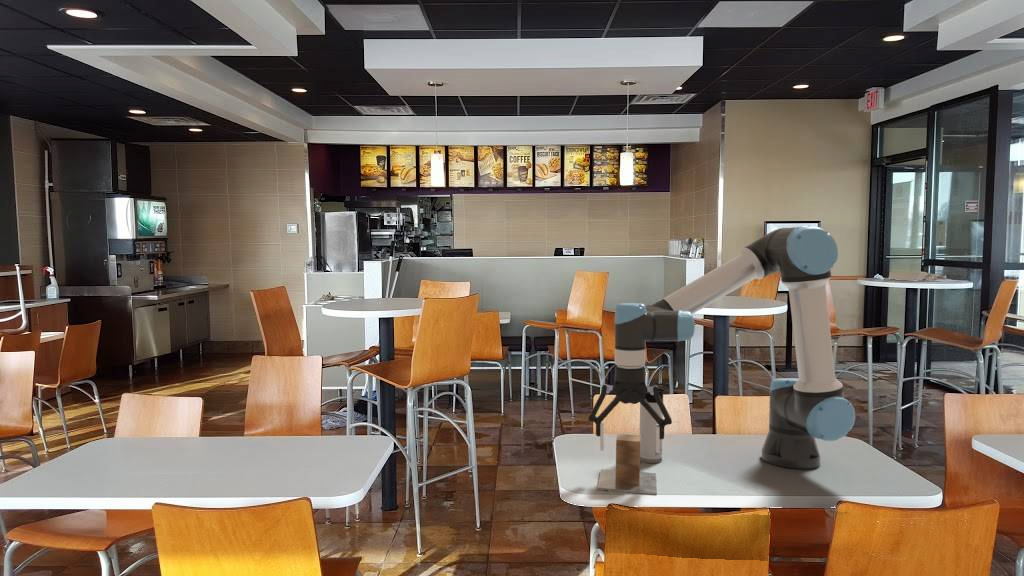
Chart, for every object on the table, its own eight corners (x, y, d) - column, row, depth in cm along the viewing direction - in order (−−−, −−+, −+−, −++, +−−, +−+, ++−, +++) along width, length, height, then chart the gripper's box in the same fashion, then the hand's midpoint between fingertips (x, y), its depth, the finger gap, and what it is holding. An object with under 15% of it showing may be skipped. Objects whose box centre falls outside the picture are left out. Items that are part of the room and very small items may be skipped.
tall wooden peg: (639, 477, 169) (640, 435, 169) (639, 485, 164) (640, 441, 163) (616, 475, 170) (617, 433, 170) (615, 483, 165) (616, 440, 164)
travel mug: (663, 464, 182) (665, 391, 181) (638, 462, 183) (640, 390, 182) (663, 457, 188) (664, 386, 187) (639, 455, 189) (640, 385, 188)
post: (655, 475, 173) (656, 444, 172) (656, 494, 159) (657, 461, 159) (601, 471, 175) (601, 441, 175) (597, 490, 162) (598, 457, 161)
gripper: (681, 364, 167) (680, 448, 168) (580, 361, 172) (580, 443, 173) (682, 369, 159) (682, 457, 161) (578, 367, 164) (578, 452, 165)
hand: (629, 450), depth 167 cm, fingers open, 13 cm apart
